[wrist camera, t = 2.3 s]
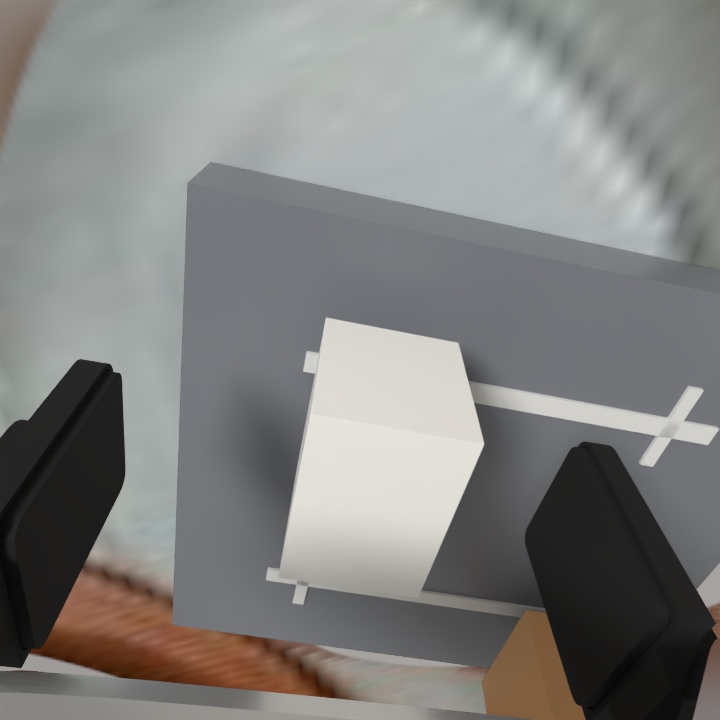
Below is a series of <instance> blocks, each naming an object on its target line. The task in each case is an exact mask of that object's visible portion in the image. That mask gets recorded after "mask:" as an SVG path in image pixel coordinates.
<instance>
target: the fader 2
mask: <svg viewBox="0 0 720 720" xmlns="http://www.w3.org/2000/svg"><path fill="white" fill-rule="evenodd" d="M482 685H483V691H484V697H485V703H486V710H487V714H489V715H498V716H507V717H517V718H526V719H535V720H586V719H585V716H584V713H583V710H582V707H581V706H578V705H577V704H576V703H575V701H574V700H573V697H572V695H571V691H570V688H569V685H568V682H567V678H566V675H565V672H564V669H563V666H562V662H561V659H560V656H559V653H558V649H557V646H556V643H555V640H554V636H553V633H552V630H551V627H550V623H549V620H548V617H547V614H546V612H545V611H538V610H531V609H525V611H524V613H523V614H522V616H521V617H520V619H519V621H518V622H517V624H516V626H515V627H514V630H513V632H512V633H511V635H510V637H509V638H508V640H507V641H506V643H505V645H504V646H503V648H502V650H501V651H500V653H499V654H498V656H497V658H496V659H495V661H494V662H493V664H492V666H491V667H490V669H489V671H488V672H487V674H486V675H485V677H484V679H483V680H482Z"/></svg>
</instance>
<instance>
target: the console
mask: <svg viewBox="0 0 720 720" xmlns="http://www.w3.org/2000/svg"><path fill="white" fill-rule="evenodd" d="M326 318H331V319H337V320H342V321H347V322H352V323H357V324H363V325H368V326H373V327H378V328H384V329H389V330H394V331H399V332H404V333H410V334H415V335H420V336H425V337H431V338H436V339H441V340H446V341H452V342H457V343H459V347H460V351H461V355H462V359H463V363H464V366H465V370H466V374H467V378H468V382H469V386H470V390H471V394H472V398H473V401H474V405H475V409H476V413H477V417H478V421H479V425H480V429H481V433H482V436H483V440H484V446H483V449H482V451H481V453H480V456H479V458H478V460H477V463H476V465H475V467H474V470H473V472H472V474H471V477H470V479H469V481H468V483H467V486H466V488H465V490H464V493H463V495H462V497H461V500H460V502H459V504H458V507H457V509H456V511H455V514H454V516H453V518H452V521H451V523H450V525H449V528H448V530H447V532H446V534H445V537H444V539H443V541H442V544H441V546H440V548H439V551H438V553H437V555H436V558H435V560H434V562H433V565H432V567H431V569H430V572H429V574H428V576H427V578H426V581H425V583H424V585H423V588H422V590H421V592H420V595H419V597H418V598H414V597H407V596H401V595H394V594H387V593H380V592H373V591H367V590H360V589H353V588H346V587H339V586H333V585H326V584H319V583H312V582H305V581H299V580H292V579H285V578H278V575H279V569H280V563H281V558H282V552H283V546H284V540H285V534H286V528H287V523H288V517H289V511H290V505H291V499H292V493H293V488H294V482H295V476H296V470H297V464H298V459H299V454H300V449H301V444H302V438H303V433H304V428H305V423H306V418H307V413H308V407H309V402H310V397H311V392H312V387H313V382H314V376H315V371H316V366H317V361H318V356H319V351H320V345H321V340H322V335H323V330H324V325H325V320H326ZM582 442H592V443H598V444H604V445H610V446H612V447H613V448H614V449H615V450H616V452H617V454H618V456H619V457H620V459H621V461H622V462H623V464H624V466H625V468H626V469H627V471H628V473H629V475H630V476H631V478H632V480H633V481H634V483H635V485H636V487H637V488H638V490H639V492H640V494H641V495H642V497H643V499H644V500H645V502H646V504H647V506H648V507H649V509H650V511H651V513H652V514H653V516H654V518H655V519H656V521H657V523H658V525H659V526H660V528H661V530H662V531H663V533H664V535H665V537H666V538H667V540H668V542H669V544H670V545H671V547H672V549H673V550H674V552H675V554H676V556H677V557H678V559H679V561H680V563H681V564H682V566H683V568H684V569H685V571H686V573H687V575H688V576H689V578H690V580H691V582H692V583H693V585H694V587H695V588H696V589H697V588H698V587H699V586H700V584H701V583H702V582H703V581H704V580H705V579H706V578H707V577H708V575H709V574H710V573H711V572H712V571H713V569H714V568H715V567H716V566H717V565H718V564H719V563H720V271H719V270H714V269H709V268H705V267H700V266H695V265H691V264H686V263H681V262H677V261H672V260H667V259H663V258H658V257H653V256H648V255H644V254H639V253H634V252H630V251H625V250H620V249H616V248H611V247H606V246H601V245H597V244H592V243H587V242H583V241H578V240H573V239H569V238H564V237H559V236H555V235H550V234H545V233H540V232H536V231H531V230H526V229H522V228H517V227H512V226H508V225H503V224H498V223H493V222H489V221H484V220H479V219H475V218H470V217H465V216H461V215H456V214H451V213H447V212H442V211H437V210H432V209H428V208H423V207H418V206H414V205H409V204H404V203H400V202H395V201H390V200H386V199H381V198H376V197H371V196H367V195H362V194H357V193H353V192H348V191H343V190H339V189H334V188H329V187H324V186H320V185H315V184H310V183H306V182H301V181H296V180H292V179H287V178H282V177H278V176H273V175H268V174H263V173H259V172H254V171H249V170H245V169H240V168H235V167H231V166H226V165H221V164H216V163H212V162H211V163H209V164H208V165H207V166H206V167H205V168H204V169H203V170H202V171H201V172H199V173H198V174H197V175H196V176H195V177H194V178H193V179H192V180H190V181H189V182H188V187H187V216H186V246H185V275H184V304H183V334H182V363H181V392H180V422H179V451H178V480H177V509H176V539H175V568H174V597H173V625H177V626H184V627H191V628H199V629H206V630H213V631H220V632H228V633H235V634H242V635H250V636H257V637H264V638H272V639H279V640H286V641H294V642H301V643H308V644H315V645H323V646H330V647H337V648H345V649H352V650H359V651H367V652H374V653H382V654H389V655H396V656H403V657H410V658H418V659H426V660H433V661H440V662H448V663H454V664H462V665H469V666H476V667H484V668H490V667H491V666H492V664H493V662H494V661H495V659H496V658H497V656H498V654H499V653H500V651H501V650H502V648H503V646H504V645H505V643H506V641H507V640H508V638H509V637H510V635H511V633H512V632H513V630H514V627H515V626H516V624H517V622H518V621H519V619H520V617H521V616H522V614H523V613H524V611H525V609H531V610H538V611H545V607H544V604H543V601H542V598H541V594H540V591H539V588H538V585H537V581H536V578H535V575H534V572H533V568H532V565H531V562H530V559H529V556H528V552H527V549H526V545H525V532H526V529H527V527H528V525H529V523H530V521H531V519H532V518H533V516H534V514H535V512H536V510H537V509H538V507H539V505H540V503H541V501H542V500H543V498H544V496H545V494H546V492H547V490H548V489H549V487H550V485H551V483H552V481H553V480H554V478H555V476H556V474H557V472H558V471H559V469H560V467H561V465H562V463H563V461H564V460H565V458H566V456H567V454H568V452H569V451H570V449H571V448H573V447H578V445H579V444H580V443H582ZM545 612H546V611H545Z"/></svg>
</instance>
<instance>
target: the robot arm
mask: <svg viewBox="0 0 720 720" xmlns="http://www.w3.org/2000/svg"><path fill="white" fill-rule="evenodd" d="M124 479H125V448H124V422H123V397H122V377H121V374H120V373H115V372H113V368H112V366H111V365H110V364H107V363H100V362H94V361H88V360H82V359H80V360H77V361H76V362H75V363H74V364H73V366H72V367H71V368H70V369H69V371H68V372H67V373H66V374H65V376H64V377H63V378H62V379H61V381H60V382H59V383H58V384H57V386H56V387H55V388H54V389H53V390H52V392H51V393H50V394H49V395H48V397H47V398H46V399H45V400H44V402H43V403H42V404H41V405H40V407H39V408H38V409H37V410H36V412H35V413H34V414H33V415H32V417H31V418H30V419H29V420H28V421H27V420H19V421H16V422H14V423H13V424H12V425H11V426H10V427H9V428H8V429H7V430H6V432H5V433H4V434H3V435H2V436H1V438H0V666H6V667H16V668H22V666H23V664H24V662H25V660H26V658H27V656H28V654H29V652H30V650H31V648H34V649H40V648H41V647H42V646H43V645H44V643H45V642H46V640H47V638H48V636H49V634H50V632H51V630H52V628H53V626H54V624H55V622H56V620H57V618H58V616H59V614H60V612H61V610H62V608H63V606H64V604H65V602H66V600H67V598H68V596H69V594H70V592H71V590H72V588H73V586H74V584H75V582H76V580H77V578H78V576H79V574H80V572H81V570H82V568H83V565H84V563H85V561H86V559H87V557H88V555H89V553H90V551H91V549H92V547H93V545H94V543H95V541H96V539H97V537H98V535H99V533H100V531H101V529H102V527H103V525H104V523H105V521H106V519H107V517H108V515H109V513H110V511H111V509H112V507H113V505H114V503H115V501H116V499H117V497H118V495H119V493H120V491H121V489H122V486H123V483H124ZM525 545H526V549H527V552H528V556H529V559H530V562H531V565H532V568H533V572H534V575H535V578H536V581H537V585H538V588H539V591H540V594H541V598H542V601H543V604H544V607H545V611H546V614H547V617H548V620H549V623H550V627H551V630H552V633H553V636H554V640H555V643H556V646H557V649H558V653H559V656H560V659H561V662H562V666H563V669H564V672H565V675H566V678H567V682H568V685H569V688H570V691H571V695H572V697H573V700H574V701H575V703H576V704H577V705H578V706H581V707H582V710H583V713H584V716H585V719H586V720H720V638H719V639H717V637H716V635H715V634H714V632H713V630H712V627H713V626H714V625H715V624H716V623H715V621H714V619H713V618H712V616H711V614H710V613H709V611H708V609H707V607H706V606H705V604H704V602H703V601H702V599H701V597H700V595H699V594H698V592H697V590H696V588H695V587H694V585H693V583H692V582H691V580H690V578H689V576H688V575H687V573H686V571H685V569H684V568H683V566H682V564H681V563H680V561H679V559H678V557H677V556H676V554H675V552H674V550H673V549H672V547H671V545H670V544H669V542H668V540H667V538H666V537H665V535H664V533H663V531H662V530H661V528H660V526H659V525H658V523H657V521H656V519H655V518H654V516H653V514H652V513H651V511H650V509H649V507H648V506H647V504H646V502H645V500H644V499H643V497H642V495H641V494H640V492H639V490H638V488H637V487H636V485H635V483H634V481H633V480H632V478H631V476H630V475H629V473H628V471H627V469H626V468H625V466H624V464H623V462H622V461H621V459H620V457H619V456H618V454H617V452H616V450H615V449H614V448H613V447H612V446H610V445H604V444H598V443H592V442H582V443H580V444H579V445H578V447H573V448H571V449H570V451H569V452H568V454H567V456H566V458H565V460H564V461H563V463H562V465H561V467H560V469H559V471H558V472H557V474H556V476H555V478H554V480H553V481H552V483H551V485H550V487H549V489H548V490H547V492H546V494H545V496H544V498H543V500H542V501H541V503H540V505H539V507H538V509H537V510H536V512H535V514H534V516H533V518H532V519H531V521H530V523H529V525H528V527H527V529H526V532H525ZM0 720H535V719H526V718H517V717H507V716H498V715H489V714H480V713H470V712H461V711H451V710H442V709H432V708H422V707H412V706H403V705H393V704H383V703H373V702H363V701H353V700H344V699H334V698H324V697H314V696H304V695H294V694H284V693H273V692H263V691H253V690H242V689H232V688H221V687H211V686H201V685H190V684H180V683H170V682H159V681H149V680H136V679H123V678H111V677H97V676H84V675H72V674H59V673H42V672H11V671H0Z"/></svg>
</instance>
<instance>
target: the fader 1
mask: <svg viewBox="0 0 720 720" xmlns="http://www.w3.org/2000/svg"><path fill="white" fill-rule="evenodd" d="M483 446H484V440H483V436H482V433H481V429H480V425H479V421H478V417H477V413H476V409H475V405H474V401H473V398H472V394H471V390H470V386H469V382H468V378H467V374H466V370H465V366H464V363H463V359H462V355H461V351H460V347H459V343H457V342H452V341H446V340H441V339H436V338H431V337H425V336H420V335H415V334H410V333H404V332H399V331H394V330H389V329H384V328H378V327H373V326H368V325H363V324H357V323H352V322H347V321H342V320H337V319H331V318H326V320H325V325H324V330H323V335H322V340H321V345H320V351H319V356H318V361H317V366H316V371H315V376H314V382H313V387H312V392H311V397H310V402H309V407H308V413H307V418H306V423H305V428H304V433H303V438H302V444H301V449H300V454H299V459H298V464H297V470H296V476H295V482H294V488H293V493H292V499H291V505H290V511H289V517H288V523H287V528H286V534H285V540H284V546H283V552H282V558H281V563H280V569H279V575H278V578H285V579H292V580H299V581H305V582H312V583H319V584H326V585H333V586H339V587H346V588H353V589H360V590H367V591H373V592H380V593H387V594H394V595H401V596H407V597H414V598H418V597H419V595H420V592H421V590H422V588H423V585H424V583H425V581H426V578H427V576H428V574H429V572H430V569H431V567H432V565H433V562H434V560H435V558H436V555H437V553H438V551H439V548H440V546H441V544H442V541H443V539H444V537H445V534H446V532H447V530H448V528H449V525H450V523H451V521H452V518H453V516H454V514H455V511H456V509H457V507H458V504H459V502H460V500H461V497H462V495H463V493H464V490H465V488H466V486H467V483H468V481H469V479H470V477H471V474H472V472H473V470H474V467H475V465H476V463H477V460H478V458H479V456H480V453H481V451H482V449H483Z"/></svg>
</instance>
